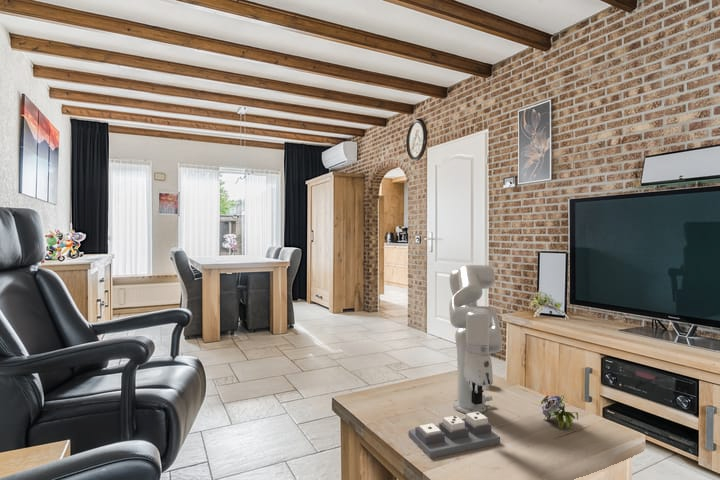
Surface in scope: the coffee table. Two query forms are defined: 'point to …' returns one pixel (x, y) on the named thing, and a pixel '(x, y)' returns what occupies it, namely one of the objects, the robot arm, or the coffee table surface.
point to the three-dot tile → (453, 423)
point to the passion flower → (557, 410)
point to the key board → (454, 439)
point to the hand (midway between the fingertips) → (476, 403)
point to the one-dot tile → (429, 429)
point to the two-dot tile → (476, 419)
